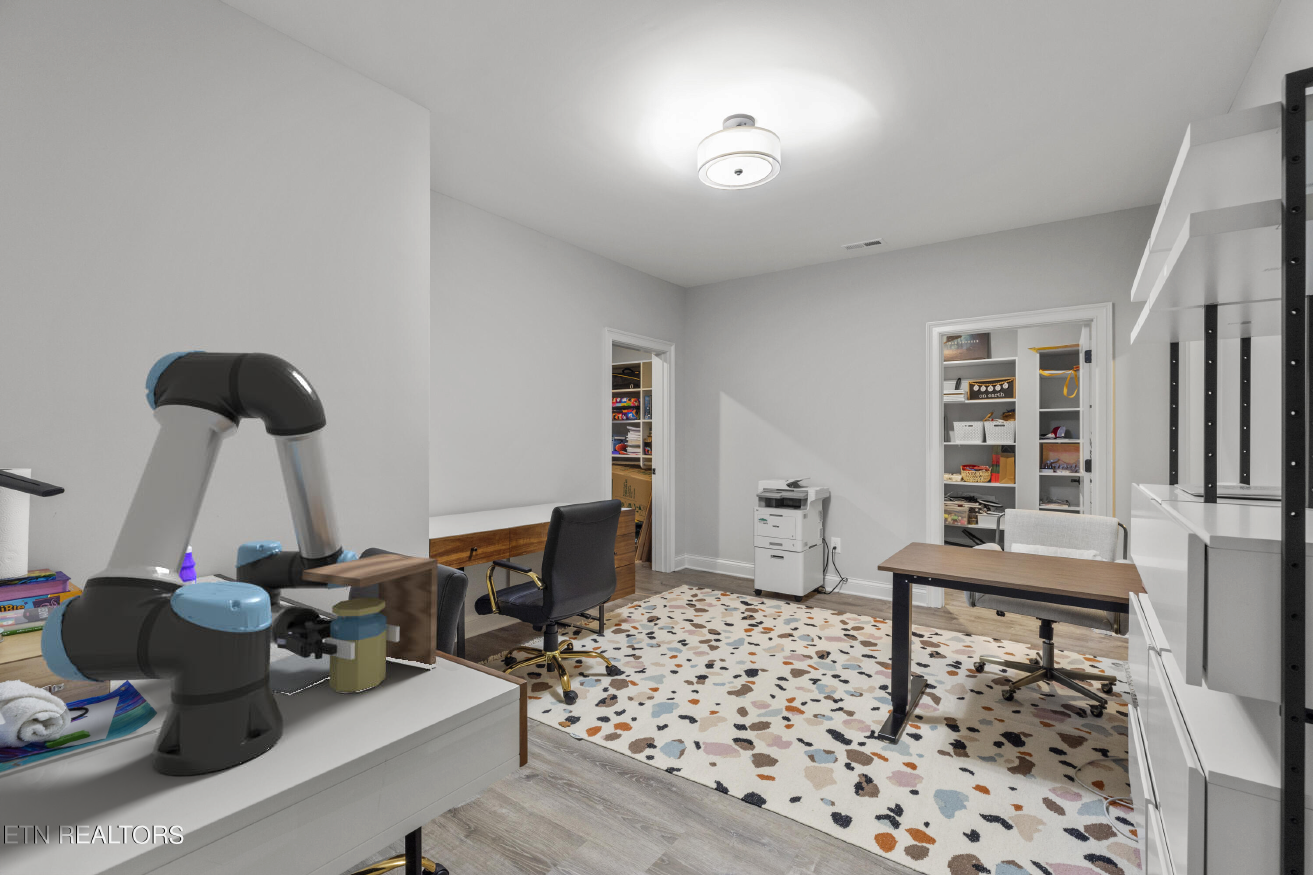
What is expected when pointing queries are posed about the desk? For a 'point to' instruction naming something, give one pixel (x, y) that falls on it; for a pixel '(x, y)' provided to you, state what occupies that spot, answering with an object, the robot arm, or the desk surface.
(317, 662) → the mat
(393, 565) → the shelf
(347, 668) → the jar
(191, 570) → the bottle
